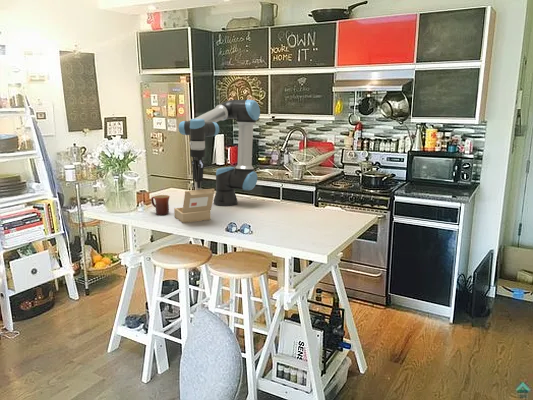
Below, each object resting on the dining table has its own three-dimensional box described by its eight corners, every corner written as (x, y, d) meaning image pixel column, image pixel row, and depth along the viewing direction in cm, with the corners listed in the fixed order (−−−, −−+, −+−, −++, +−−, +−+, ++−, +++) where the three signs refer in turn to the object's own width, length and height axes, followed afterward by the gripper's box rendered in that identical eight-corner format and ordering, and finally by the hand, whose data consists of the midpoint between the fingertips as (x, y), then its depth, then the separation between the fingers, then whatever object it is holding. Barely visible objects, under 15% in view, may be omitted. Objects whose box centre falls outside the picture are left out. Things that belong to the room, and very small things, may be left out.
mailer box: (201, 213, 259) (201, 205, 258) (210, 219, 247) (210, 210, 246) (174, 216, 252) (174, 208, 251) (182, 223, 240) (182, 214, 239)
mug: (173, 213, 260) (172, 195, 258) (163, 216, 252) (162, 198, 250) (157, 210, 265) (156, 193, 263) (147, 213, 258) (146, 196, 255)
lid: (214, 188, 238) (216, 192, 236) (210, 209, 246) (212, 213, 243) (185, 191, 231) (187, 195, 228) (182, 212, 238) (184, 216, 236)
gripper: (186, 148, 235) (187, 192, 240) (194, 150, 224) (195, 196, 229) (200, 147, 239) (200, 191, 244) (209, 150, 228) (209, 195, 233)
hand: (198, 193), depth 237 cm, fingers closed
